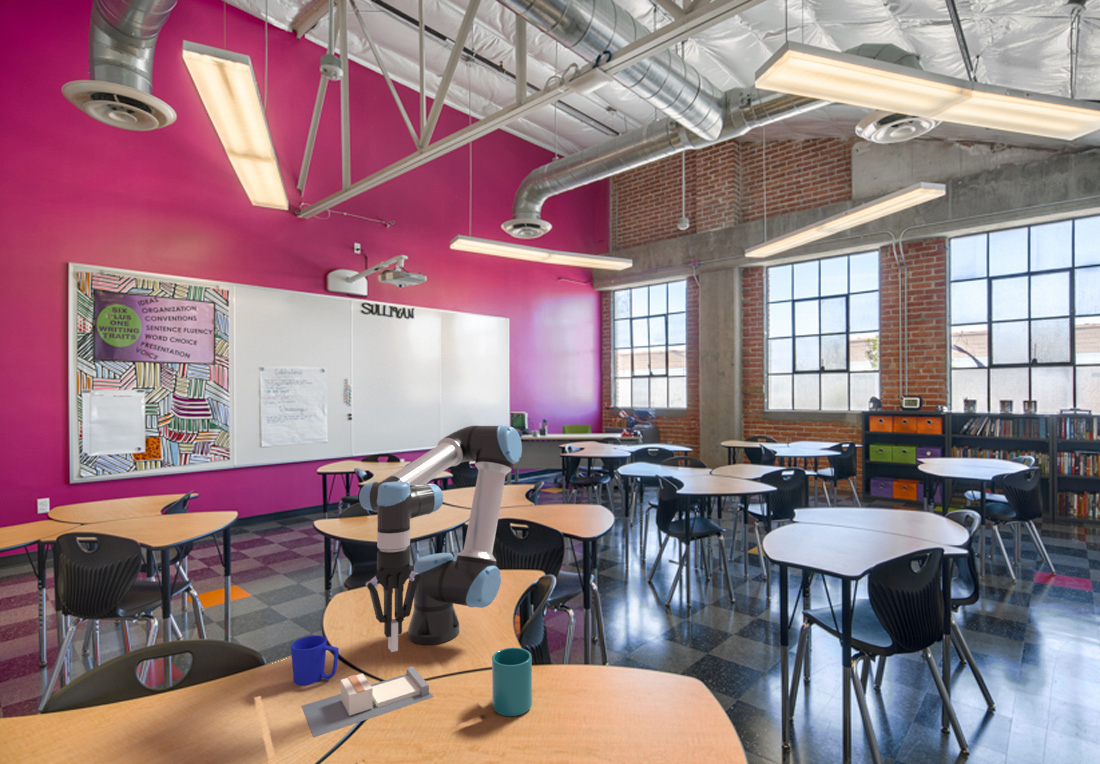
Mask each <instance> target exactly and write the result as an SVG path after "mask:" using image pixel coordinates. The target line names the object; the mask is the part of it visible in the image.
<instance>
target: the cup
mask: <svg viewBox="0 0 1100 764" xmlns="http://www.w3.org/2000/svg"><path fill="white" fill-rule="evenodd" d="M532 660H533V659H532V653H531V652H530V651H529V650H527V649H525V648H522V647H507V648H503V649H500V650H498V651H496V652H494V654H492V657H491V673H492V674H491V675H492V676H491V677H492V679H491V683H492V684H491V686H492V689H491V690H492V693H491V694H492V709H493V710H494V711H495V712H496V713H497V714H499V715H500V716H504V717H518V716H521V715H523V714H525V713H527V712H528V711H529V710H530V709H531V708H532V705H533V667H532V666H533V664H532V663H533V661H532Z"/></svg>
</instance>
